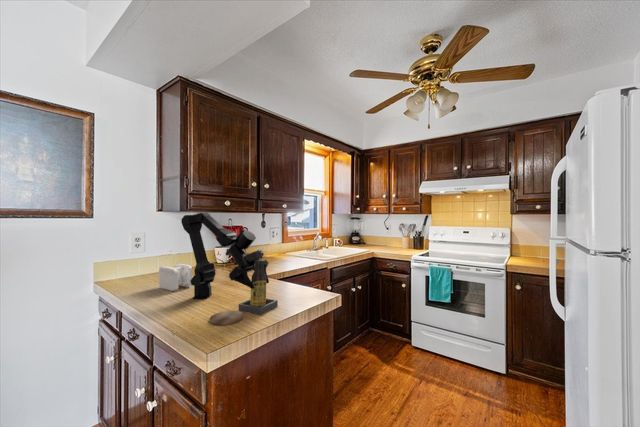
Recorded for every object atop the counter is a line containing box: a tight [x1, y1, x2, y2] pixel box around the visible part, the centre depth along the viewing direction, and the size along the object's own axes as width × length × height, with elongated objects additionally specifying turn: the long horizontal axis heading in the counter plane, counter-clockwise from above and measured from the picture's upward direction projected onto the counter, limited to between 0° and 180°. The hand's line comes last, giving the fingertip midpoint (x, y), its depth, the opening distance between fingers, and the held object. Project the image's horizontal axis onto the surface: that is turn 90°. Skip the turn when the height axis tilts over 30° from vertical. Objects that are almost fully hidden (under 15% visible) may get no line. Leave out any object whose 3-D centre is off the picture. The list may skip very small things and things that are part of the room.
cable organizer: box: [158, 263, 193, 292], centre depth 143 cm, size 15×11×12 cm
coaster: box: [209, 310, 245, 326], centre depth 102 cm, size 12×12×1 cm
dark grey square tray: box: [238, 297, 279, 316], centre depth 113 cm, size 11×11×2 cm
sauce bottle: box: [249, 258, 267, 308], centre depth 113 cm, size 6×6×20 cm
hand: (261, 285), depth 112 cm, fingers open, 9 cm apart
